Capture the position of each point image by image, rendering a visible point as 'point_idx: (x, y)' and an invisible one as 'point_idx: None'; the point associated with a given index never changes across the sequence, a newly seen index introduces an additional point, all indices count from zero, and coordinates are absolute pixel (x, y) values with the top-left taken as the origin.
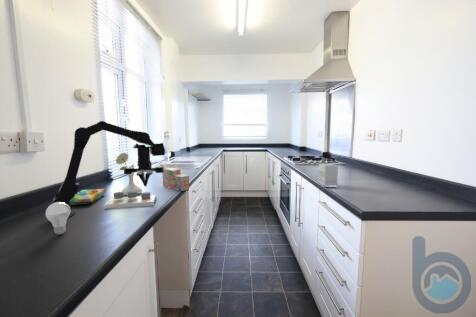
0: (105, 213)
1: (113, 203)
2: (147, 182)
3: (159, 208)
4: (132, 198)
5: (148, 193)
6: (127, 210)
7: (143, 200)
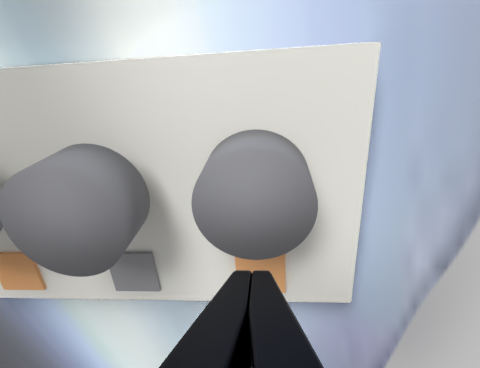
0: (57, 346)
1: (12, 289)
2: (300, 340)
3: (394, 342)
4: None
5: (297, 229)
6: (171, 330)
7: (252, 269)
